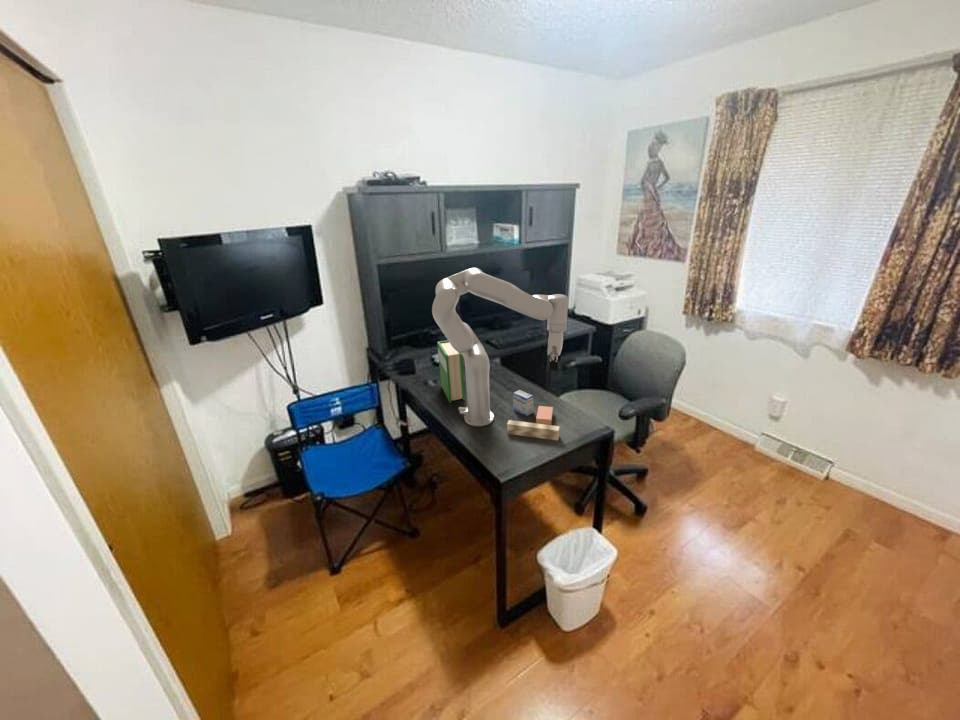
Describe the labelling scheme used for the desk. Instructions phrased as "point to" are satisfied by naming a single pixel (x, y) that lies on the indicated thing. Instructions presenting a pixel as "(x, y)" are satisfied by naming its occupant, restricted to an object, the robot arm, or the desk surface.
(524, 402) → the medicine box
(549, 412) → the block
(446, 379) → the hardback book
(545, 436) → the board
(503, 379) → the desk surface
